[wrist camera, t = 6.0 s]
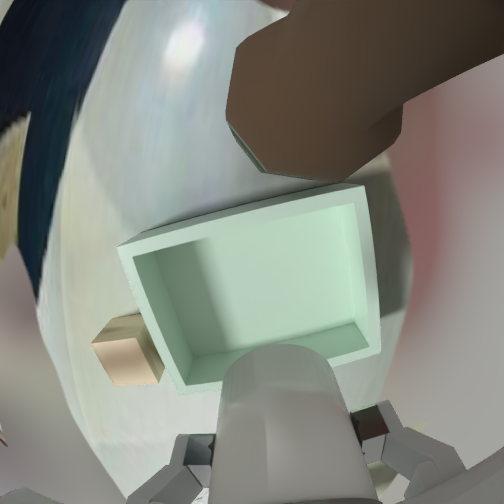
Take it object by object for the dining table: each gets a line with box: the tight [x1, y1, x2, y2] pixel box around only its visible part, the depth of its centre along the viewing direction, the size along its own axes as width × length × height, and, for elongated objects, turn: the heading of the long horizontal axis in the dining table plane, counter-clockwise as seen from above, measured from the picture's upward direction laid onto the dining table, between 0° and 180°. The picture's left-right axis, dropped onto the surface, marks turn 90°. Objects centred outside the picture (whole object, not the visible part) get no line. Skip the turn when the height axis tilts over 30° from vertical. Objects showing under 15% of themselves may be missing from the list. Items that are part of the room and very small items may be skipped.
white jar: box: [208, 344, 383, 504], centre depth 8 cm, size 5×5×8 cm
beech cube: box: [91, 314, 165, 386], centre depth 25 cm, size 5×5×5 cm
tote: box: [117, 183, 381, 395], centre depth 23 cm, size 14×18×5 cm
